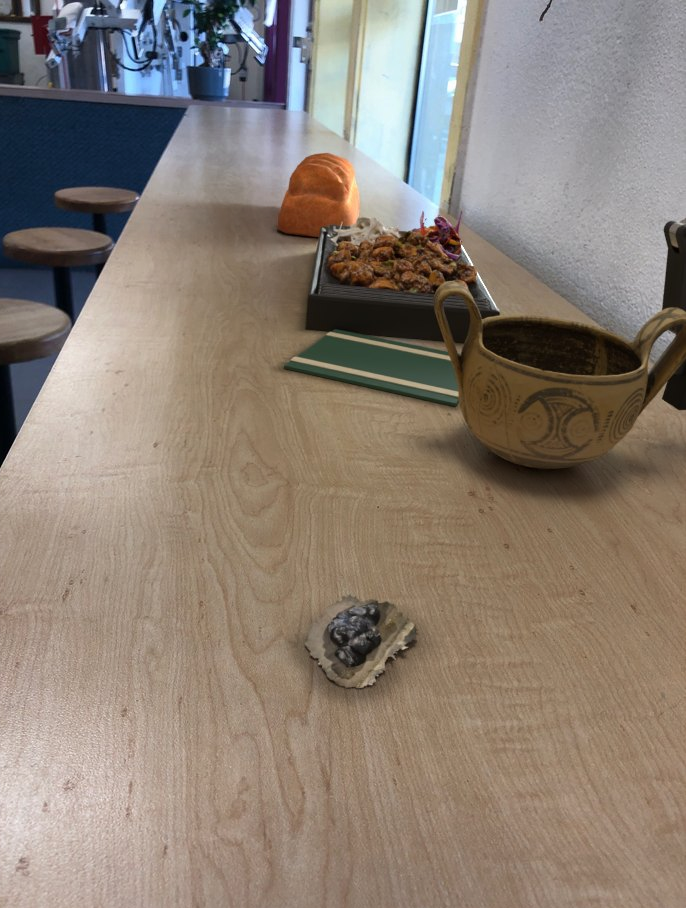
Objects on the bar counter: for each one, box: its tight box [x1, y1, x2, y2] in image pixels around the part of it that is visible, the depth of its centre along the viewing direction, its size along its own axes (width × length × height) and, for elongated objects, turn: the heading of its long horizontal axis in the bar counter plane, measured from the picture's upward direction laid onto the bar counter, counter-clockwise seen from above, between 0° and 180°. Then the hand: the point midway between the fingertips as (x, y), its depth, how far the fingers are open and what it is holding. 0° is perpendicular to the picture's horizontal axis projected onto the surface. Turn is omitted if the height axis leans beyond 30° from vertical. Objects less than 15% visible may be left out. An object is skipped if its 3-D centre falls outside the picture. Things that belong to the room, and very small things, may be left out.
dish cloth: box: [283, 329, 461, 407], centre depth 93 cm, size 20×16×1 cm
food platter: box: [305, 210, 501, 344], centre depth 119 cm, size 45×25×10 cm, turn 177°
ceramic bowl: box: [434, 281, 686, 470], centre depth 71 cm, size 22×17×15 cm
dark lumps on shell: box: [304, 593, 419, 689], centre depth 48 cm, size 7×8×2 cm
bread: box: [276, 152, 361, 238], centre depth 161 cm, size 16×31×13 cm, turn 174°
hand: (676, 404), depth 76 cm, fingers closed
